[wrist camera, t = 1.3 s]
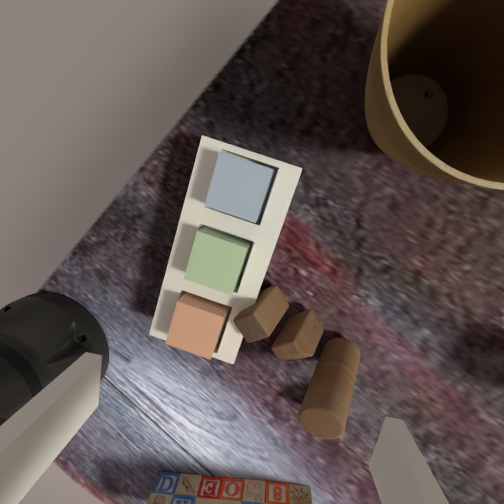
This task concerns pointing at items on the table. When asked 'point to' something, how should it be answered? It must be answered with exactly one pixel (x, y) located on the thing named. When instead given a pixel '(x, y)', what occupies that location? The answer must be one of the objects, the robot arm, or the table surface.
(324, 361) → the wooden block set
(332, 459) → the table surface
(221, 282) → the sage key
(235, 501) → the stack of blocks
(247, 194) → the blue key
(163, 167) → the table surface
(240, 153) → the key console
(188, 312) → the terracotta key
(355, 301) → the table surface
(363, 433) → the table surface
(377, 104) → the plant pot
